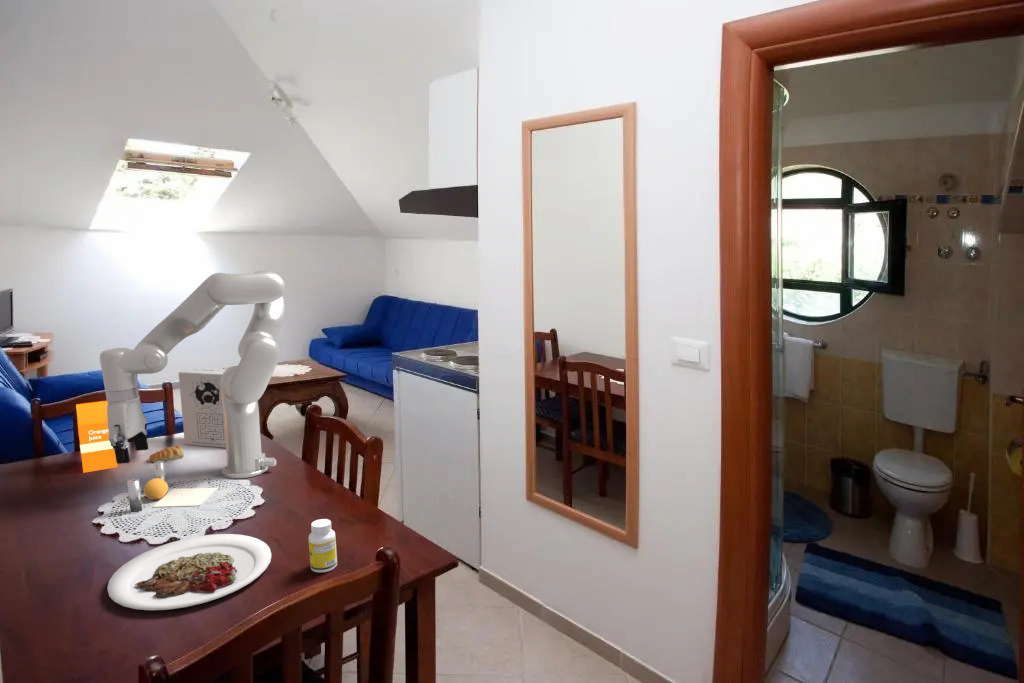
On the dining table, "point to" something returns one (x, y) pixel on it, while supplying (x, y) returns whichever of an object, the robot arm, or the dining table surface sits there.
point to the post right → (160, 470)
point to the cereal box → (202, 407)
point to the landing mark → (185, 497)
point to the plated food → (189, 572)
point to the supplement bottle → (322, 546)
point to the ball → (156, 488)
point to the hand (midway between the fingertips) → (133, 456)
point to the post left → (134, 495)
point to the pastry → (167, 454)
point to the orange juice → (95, 437)
